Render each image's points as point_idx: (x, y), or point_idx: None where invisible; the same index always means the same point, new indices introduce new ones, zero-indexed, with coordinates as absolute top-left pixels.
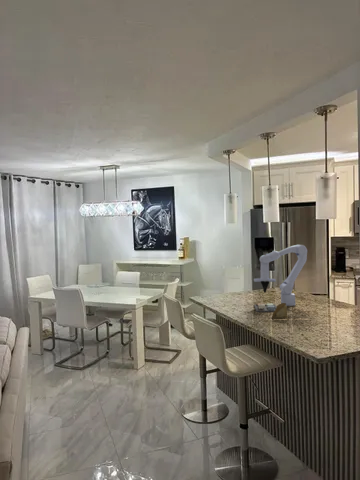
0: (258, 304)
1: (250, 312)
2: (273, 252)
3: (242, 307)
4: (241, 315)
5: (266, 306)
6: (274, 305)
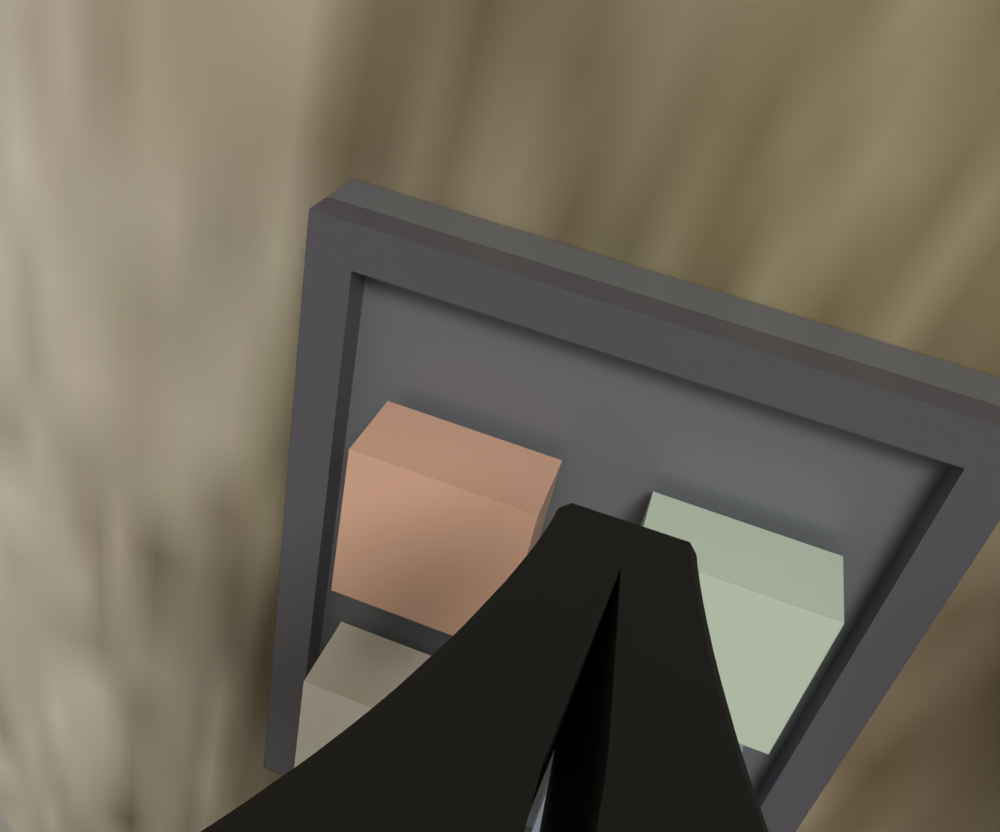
0: (302, 703)
1: (198, 582)
2: None
3: (15, 53)
4: (42, 675)
5: (673, 424)
6: (922, 559)
